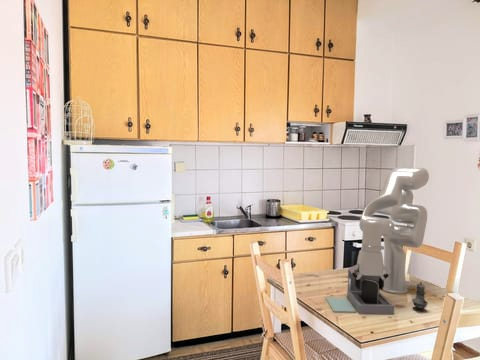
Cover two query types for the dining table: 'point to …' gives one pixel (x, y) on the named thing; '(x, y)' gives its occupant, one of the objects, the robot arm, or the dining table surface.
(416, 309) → the dark grey upright piece
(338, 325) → the dining table surface
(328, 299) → the rubber mat
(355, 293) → the case
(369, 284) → the battery charger
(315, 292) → the dining table surface
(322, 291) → the dining table surface
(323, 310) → the dining table surface
